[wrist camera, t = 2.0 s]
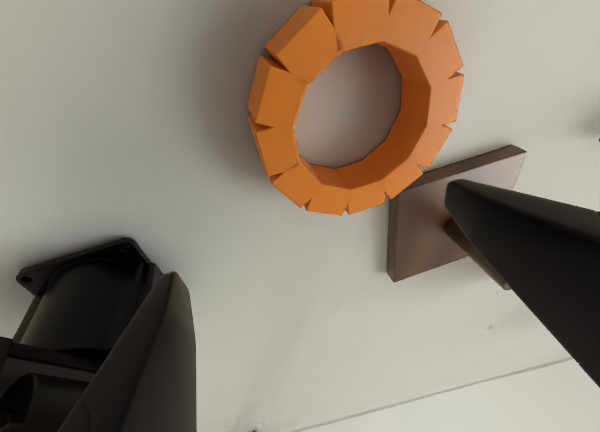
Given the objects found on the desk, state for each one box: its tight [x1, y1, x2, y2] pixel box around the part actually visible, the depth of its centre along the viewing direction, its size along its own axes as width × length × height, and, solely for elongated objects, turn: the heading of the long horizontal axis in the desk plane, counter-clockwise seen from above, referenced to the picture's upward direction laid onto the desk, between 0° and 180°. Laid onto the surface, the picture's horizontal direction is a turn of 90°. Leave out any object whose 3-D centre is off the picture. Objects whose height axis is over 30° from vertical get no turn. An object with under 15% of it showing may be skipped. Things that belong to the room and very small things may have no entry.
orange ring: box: [247, 0, 464, 215], centre depth 15 cm, size 11×11×3 cm
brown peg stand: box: [387, 145, 526, 290], centre depth 22 cm, size 10×10×7 cm
